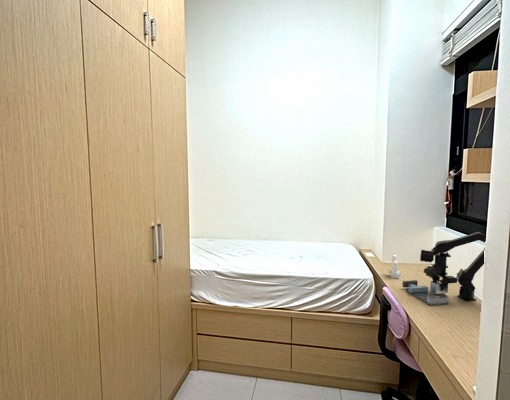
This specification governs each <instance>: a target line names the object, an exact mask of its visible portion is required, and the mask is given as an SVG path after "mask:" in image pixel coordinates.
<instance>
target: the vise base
mask: <svg viewBox="0 0 510 400" xmlns="http://www.w3.org/2000/svg"><path fill="white" fill-rule="evenodd" d="M405 292H406V293H408V294H409V295H411V296H413V297H414V298H416V299H418V300H419V301H421V300H422V301H421V302H423V303H425V304H426V303H427V304H426V305H428V306H430V307H431V306H432V307H433V305H434V306H443V305H444V306H445V305H449V300H450V299H449V297H448V296H446V295H438V296H437V295H436V294H434V293H433V292H431V291H429V290H428V291H426V292H413V293H411V292H409V291H408V288H407V289H405Z"/></svg>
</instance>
